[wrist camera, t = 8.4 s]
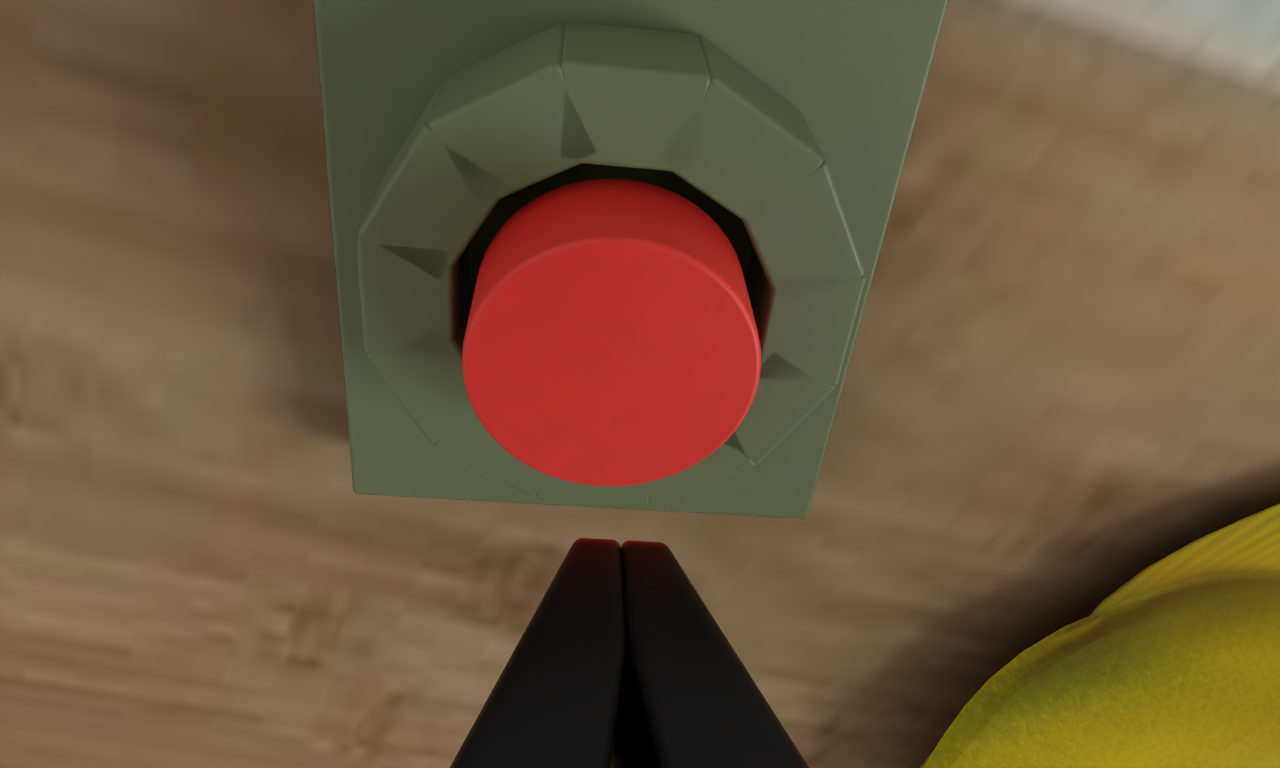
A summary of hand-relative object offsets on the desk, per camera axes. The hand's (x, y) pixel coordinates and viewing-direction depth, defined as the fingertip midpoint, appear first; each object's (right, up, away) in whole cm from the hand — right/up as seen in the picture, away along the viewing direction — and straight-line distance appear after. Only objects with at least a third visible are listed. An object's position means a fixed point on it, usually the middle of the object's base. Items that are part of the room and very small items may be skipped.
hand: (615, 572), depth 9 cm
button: (0, +3, +4) cm, 5 cm away
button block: (0, +4, +6) cm, 8 cm away
